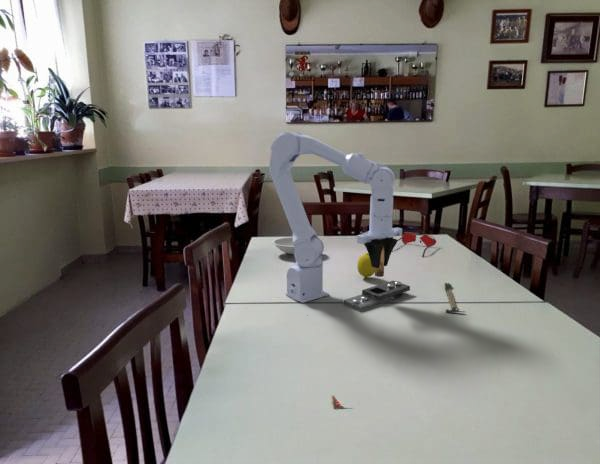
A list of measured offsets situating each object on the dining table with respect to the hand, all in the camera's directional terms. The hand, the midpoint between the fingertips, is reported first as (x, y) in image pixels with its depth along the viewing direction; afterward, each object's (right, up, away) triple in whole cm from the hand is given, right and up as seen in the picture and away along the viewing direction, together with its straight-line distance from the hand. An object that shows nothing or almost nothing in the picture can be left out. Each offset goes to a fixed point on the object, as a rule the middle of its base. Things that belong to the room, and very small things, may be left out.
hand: (379, 266), depth 118 cm
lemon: (-1, -5, +19) cm, 20 cm away
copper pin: (0, -2, +1) cm, 2 cm away
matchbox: (-13, -20, -42) cm, 48 cm away
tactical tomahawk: (+21, -10, +2) cm, 23 cm away
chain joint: (0, -9, +3) cm, 9 cm away
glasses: (+21, +2, +51) cm, 56 cm away
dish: (-22, 0, +45) cm, 50 cm away
